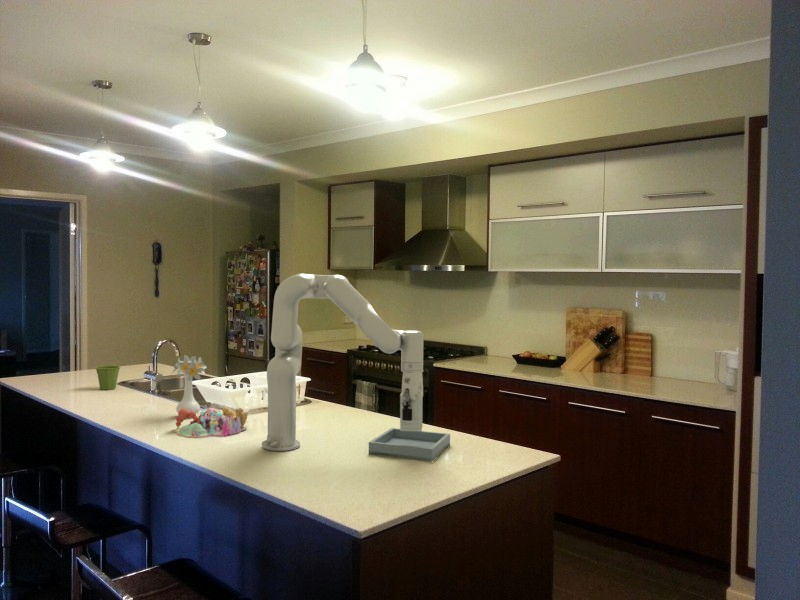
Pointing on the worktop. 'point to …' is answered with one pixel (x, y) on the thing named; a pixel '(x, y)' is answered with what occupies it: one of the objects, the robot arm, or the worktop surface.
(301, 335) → the robot arm
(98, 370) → the plant pot
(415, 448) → the tray
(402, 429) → the supplement box
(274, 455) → the worktop surface
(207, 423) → the candy landscape model
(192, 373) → the flower vase
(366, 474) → the worktop surface
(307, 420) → the worktop surface
